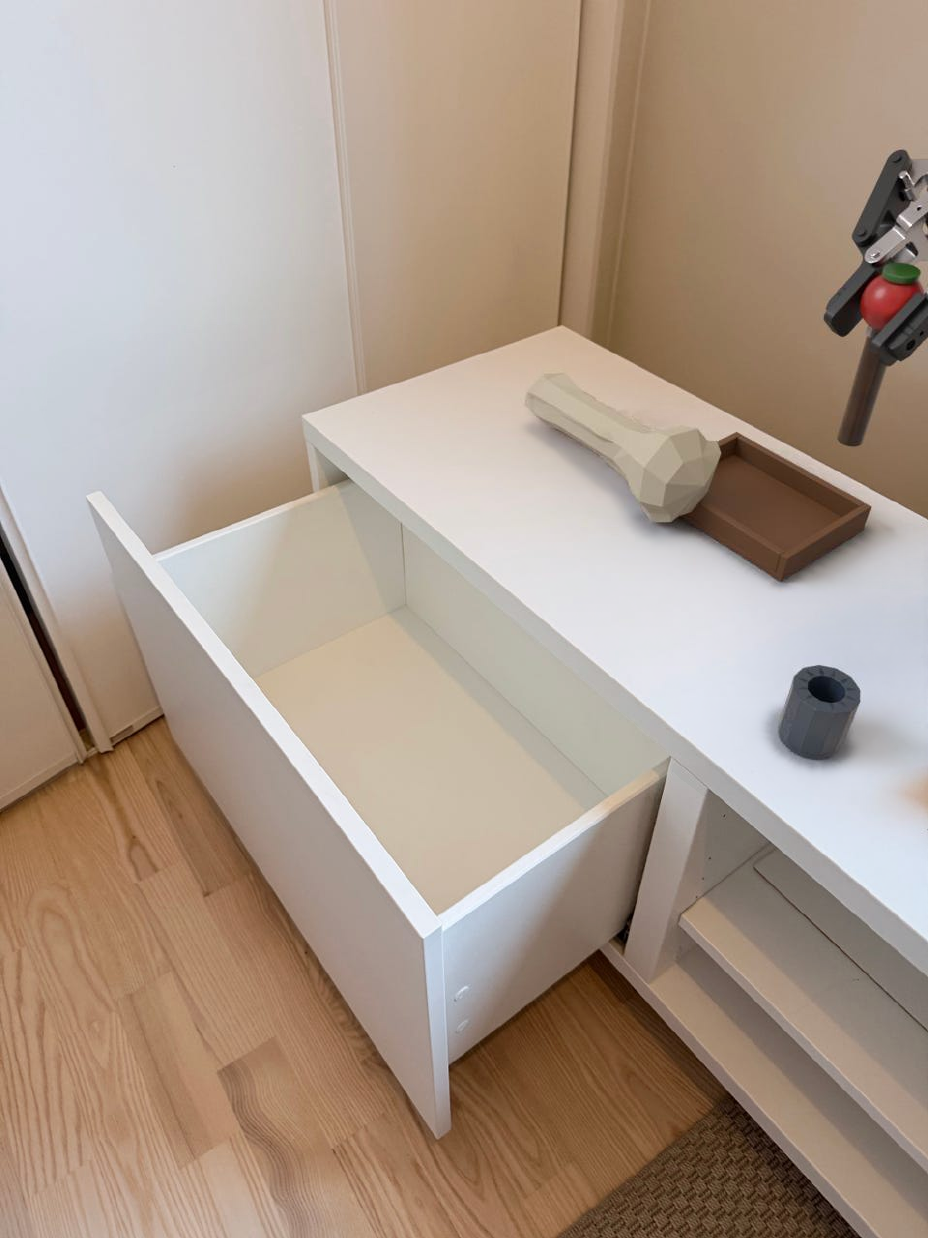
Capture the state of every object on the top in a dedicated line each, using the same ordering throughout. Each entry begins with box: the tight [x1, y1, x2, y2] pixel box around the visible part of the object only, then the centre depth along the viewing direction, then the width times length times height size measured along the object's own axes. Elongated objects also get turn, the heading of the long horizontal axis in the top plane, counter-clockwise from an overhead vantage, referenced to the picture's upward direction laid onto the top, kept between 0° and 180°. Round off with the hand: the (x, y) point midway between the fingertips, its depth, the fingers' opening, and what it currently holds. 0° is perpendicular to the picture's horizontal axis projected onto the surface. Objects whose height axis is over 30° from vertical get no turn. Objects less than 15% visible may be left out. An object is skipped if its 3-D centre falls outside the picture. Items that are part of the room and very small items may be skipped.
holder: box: [777, 664, 861, 761], centre depth 65 cm, size 4×4×5 cm
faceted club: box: [523, 372, 721, 523], centre depth 89 cm, size 9×8×25 cm
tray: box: [679, 431, 872, 583], centre depth 85 cm, size 15×11×3 cm
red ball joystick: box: [836, 263, 926, 447], centre depth 57 cm, size 3×3×11 cm
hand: (856, 341), depth 55 cm, fingers closed on red ball joystick, 3 cm apart
